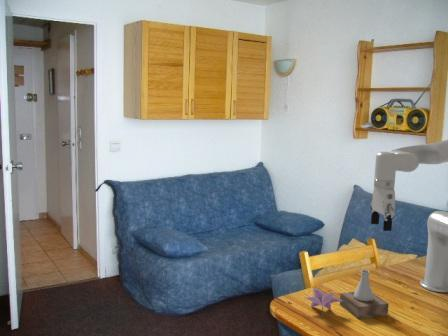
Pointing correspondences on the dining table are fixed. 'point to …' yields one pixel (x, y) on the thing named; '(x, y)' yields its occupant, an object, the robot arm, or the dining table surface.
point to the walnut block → (364, 306)
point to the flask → (364, 288)
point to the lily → (322, 299)
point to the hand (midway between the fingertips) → (380, 227)
